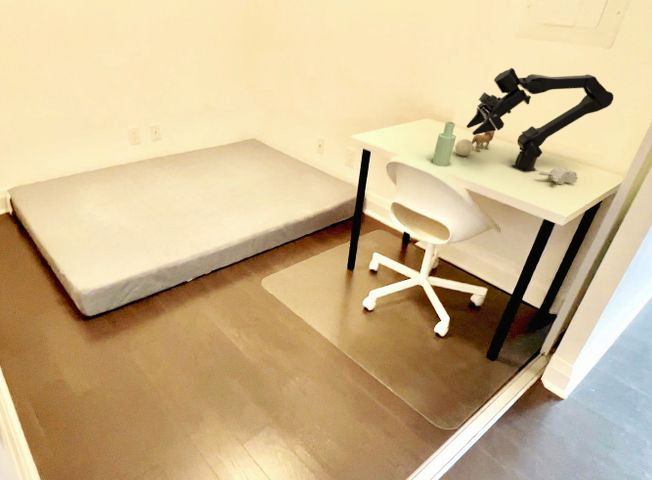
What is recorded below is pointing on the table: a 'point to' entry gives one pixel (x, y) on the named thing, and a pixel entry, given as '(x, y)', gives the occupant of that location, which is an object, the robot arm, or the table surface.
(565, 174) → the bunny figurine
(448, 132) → the bottle
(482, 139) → the lion figurine
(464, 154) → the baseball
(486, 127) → the robot arm
